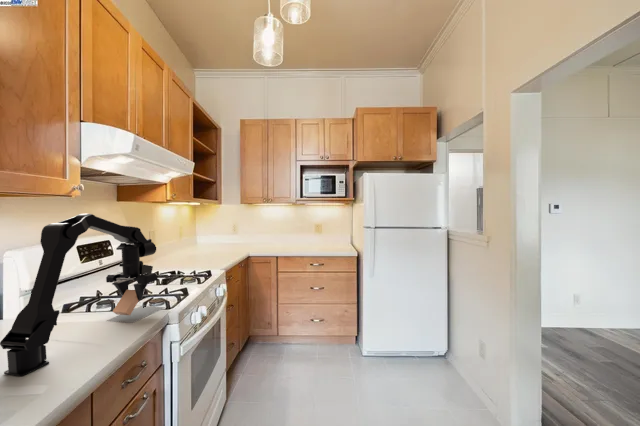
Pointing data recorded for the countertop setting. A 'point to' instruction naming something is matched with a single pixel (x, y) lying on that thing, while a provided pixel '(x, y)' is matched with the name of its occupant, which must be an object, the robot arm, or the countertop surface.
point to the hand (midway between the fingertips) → (133, 299)
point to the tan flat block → (126, 303)
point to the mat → (136, 314)
